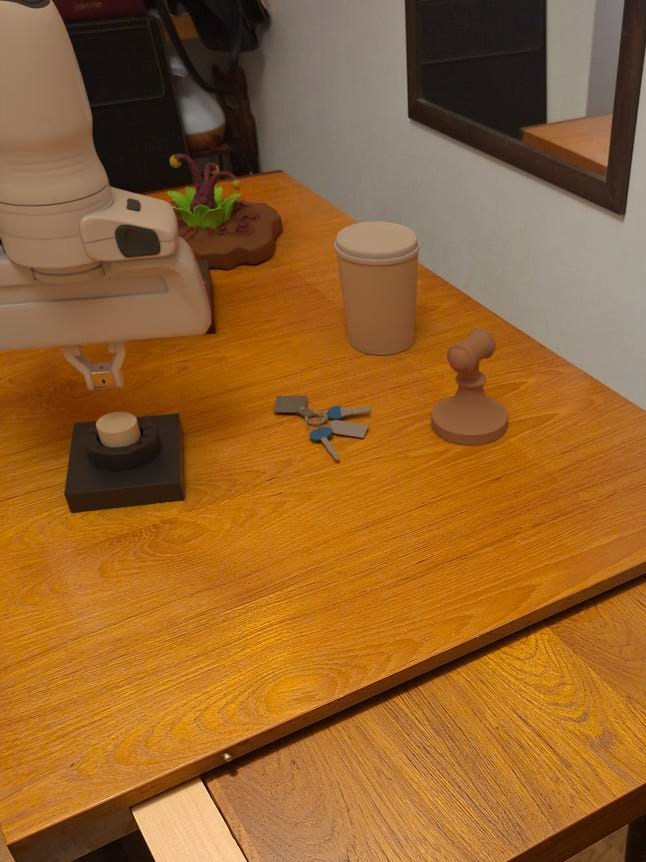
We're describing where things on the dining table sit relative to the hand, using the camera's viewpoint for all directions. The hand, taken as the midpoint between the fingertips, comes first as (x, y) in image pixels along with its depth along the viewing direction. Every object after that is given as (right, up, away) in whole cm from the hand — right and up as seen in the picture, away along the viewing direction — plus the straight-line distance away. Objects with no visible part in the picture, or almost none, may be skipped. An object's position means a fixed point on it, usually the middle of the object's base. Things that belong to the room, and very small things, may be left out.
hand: (107, 385), depth 80 cm
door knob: (+32, 0, +14) cm, 35 cm away
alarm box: (0, -6, +7) cm, 9 cm away
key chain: (+18, 0, +14) cm, 22 cm away
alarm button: (0, -4, +4) cm, 6 cm away
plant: (-5, +33, +46) cm, 57 cm away
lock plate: (-5, +18, +30) cm, 36 cm away
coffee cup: (+22, +13, +27) cm, 37 cm away
